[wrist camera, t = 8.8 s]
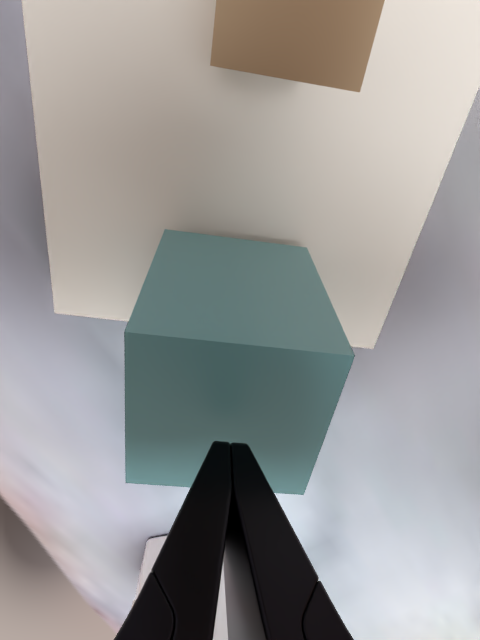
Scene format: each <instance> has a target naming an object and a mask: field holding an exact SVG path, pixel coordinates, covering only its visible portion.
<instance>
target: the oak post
mask: <svg viewBox="0 0 480 640" xmlns="http://www.w3.org/2000/svg"><path fill="white" fill-rule="evenodd" d="M384 1H385V0H216V8H215V19H214V29H213V40H212V50H211V61H210V66H215V67H220V68H225V69H231V70H236V71H242V72H248V73H253V74H259V75H264V76H270V77H275V78H281V79H287V80H292V81H298V82H303V83H309V84H315V85H320V86H326V87H331V88H337V89H343V90H348V91H354V92H360V90H361V86H362V83H363V79H364V75H365V72H366V68H367V64H368V60H369V57H370V53H371V49H372V46H373V42H374V38H375V35H376V31H377V27H378V23H379V20H380V16H381V12H382V9H383V5H384Z"/></svg>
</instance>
